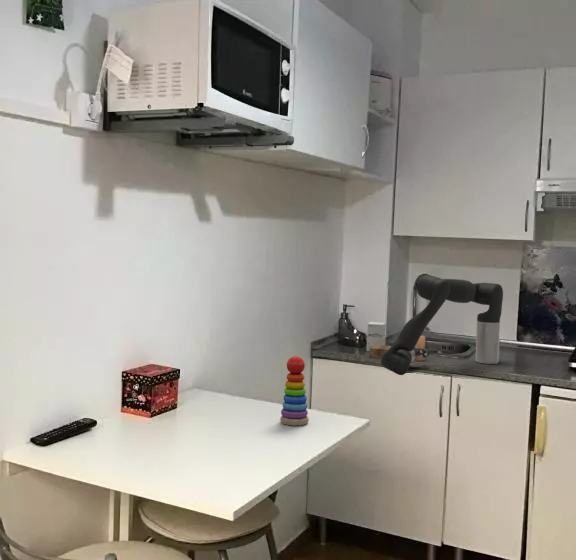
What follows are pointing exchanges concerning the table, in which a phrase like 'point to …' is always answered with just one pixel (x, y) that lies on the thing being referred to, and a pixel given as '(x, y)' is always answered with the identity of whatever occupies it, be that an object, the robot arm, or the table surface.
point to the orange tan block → (420, 345)
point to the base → (378, 351)
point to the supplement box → (375, 334)
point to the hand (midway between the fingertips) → (414, 349)
